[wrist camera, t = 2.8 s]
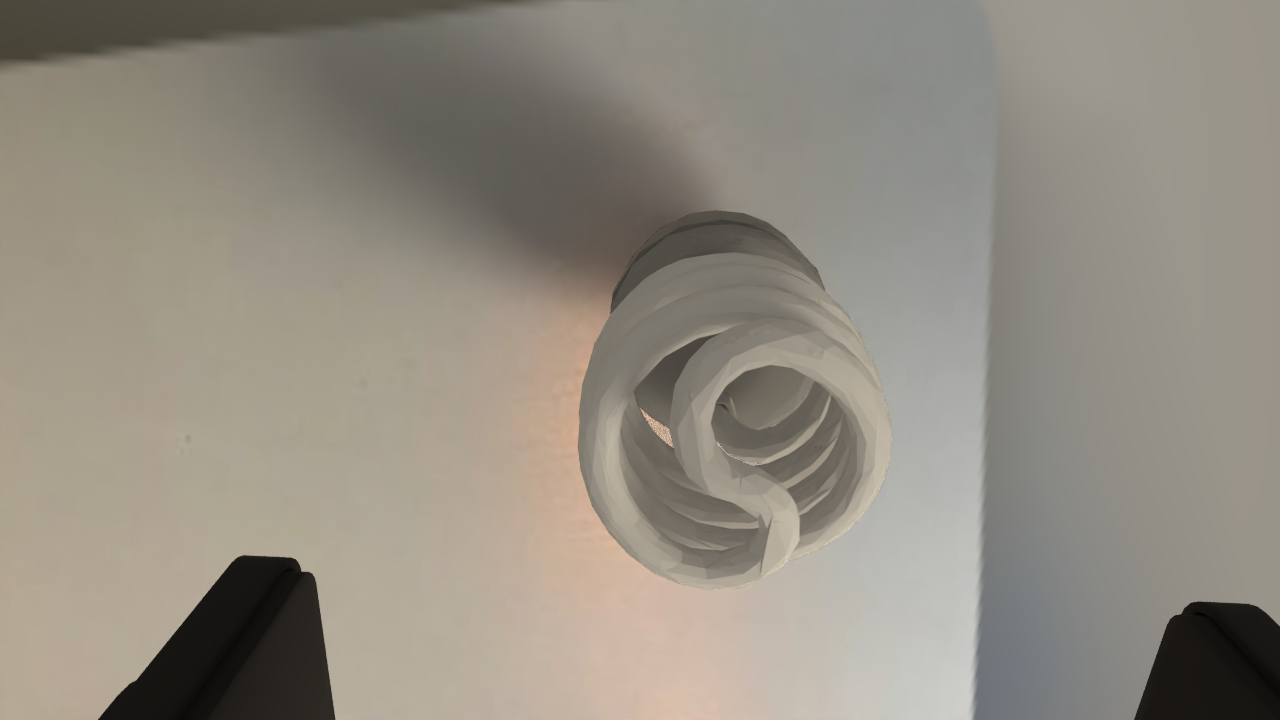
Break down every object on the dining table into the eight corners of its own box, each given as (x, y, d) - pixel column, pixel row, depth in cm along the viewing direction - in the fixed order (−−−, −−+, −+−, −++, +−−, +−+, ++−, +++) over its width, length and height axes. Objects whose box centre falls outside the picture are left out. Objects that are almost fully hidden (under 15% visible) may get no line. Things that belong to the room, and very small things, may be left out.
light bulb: (815, 356, 25) (922, 627, 14) (630, 375, 25) (588, 651, 14) (804, 167, 23) (921, 305, 12) (603, 192, 23) (530, 346, 12)
